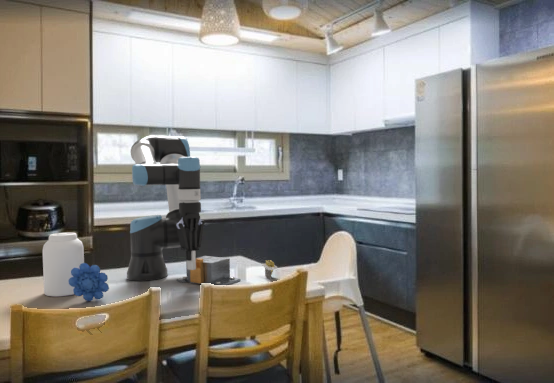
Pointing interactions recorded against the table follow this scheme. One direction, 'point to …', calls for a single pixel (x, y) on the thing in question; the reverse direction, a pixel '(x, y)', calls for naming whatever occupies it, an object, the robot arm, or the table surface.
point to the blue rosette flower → (88, 282)
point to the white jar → (61, 262)
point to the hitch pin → (197, 272)
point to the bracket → (214, 271)
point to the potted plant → (269, 268)
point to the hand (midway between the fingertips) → (191, 269)
